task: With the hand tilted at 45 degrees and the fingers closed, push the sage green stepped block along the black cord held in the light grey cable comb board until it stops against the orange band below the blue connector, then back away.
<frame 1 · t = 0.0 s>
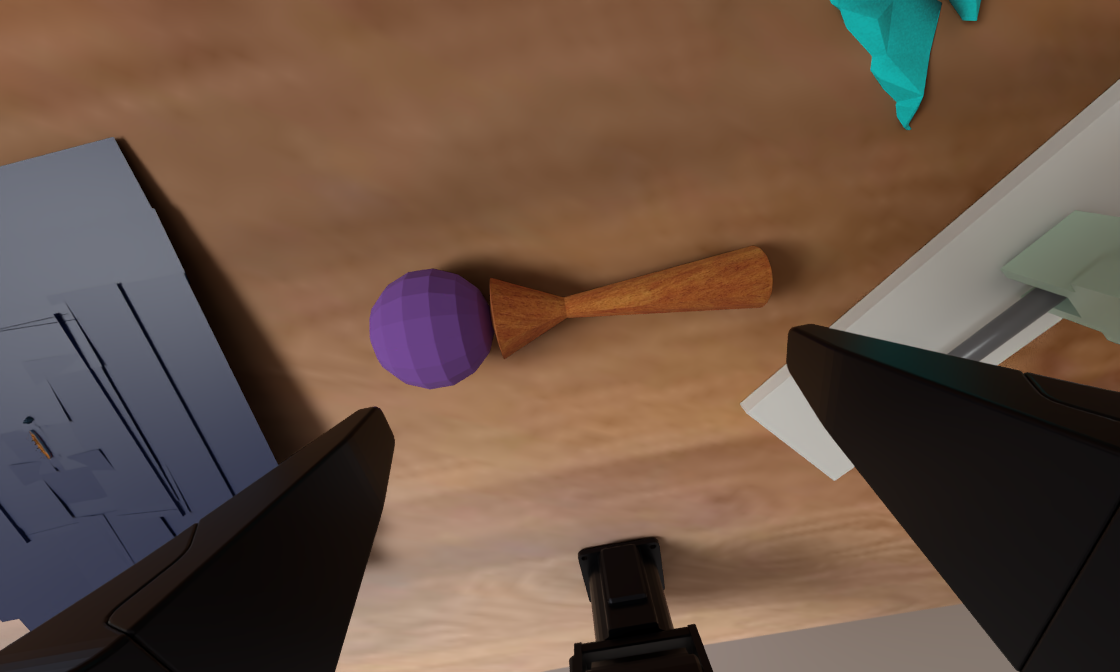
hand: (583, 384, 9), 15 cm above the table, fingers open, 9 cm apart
papers: (99, 426, 27), on the table
comb board: (989, 278, 25), on the table
kendama: (567, 289, 24), on the table
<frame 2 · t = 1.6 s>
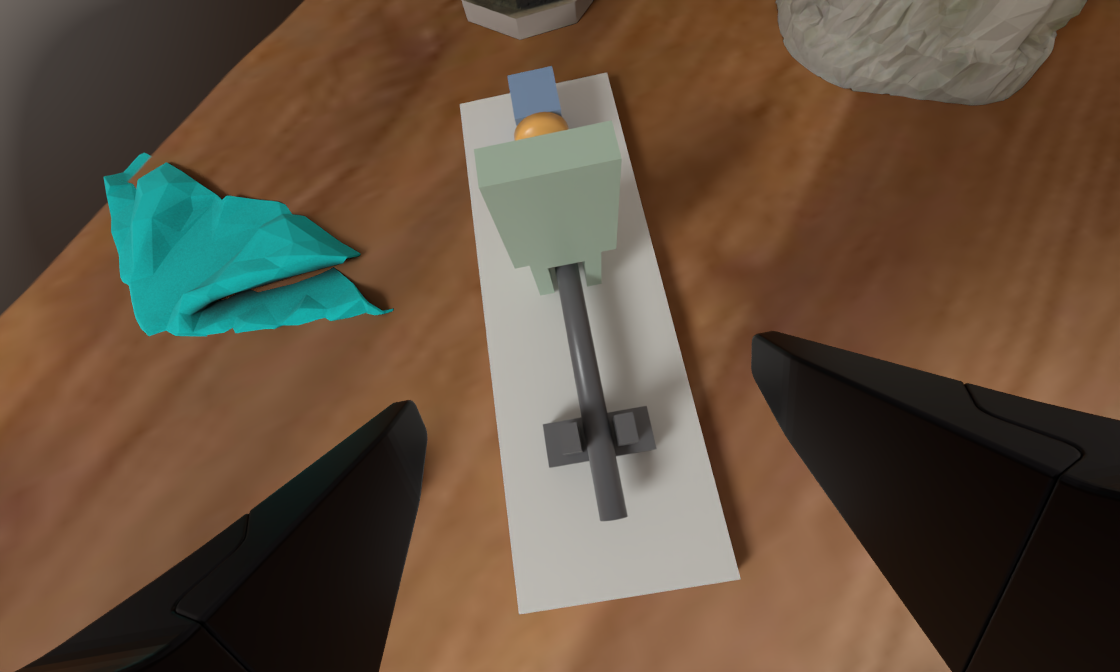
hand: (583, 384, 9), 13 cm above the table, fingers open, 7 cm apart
sage green stepped block: (555, 207, 19), point 6 cm above the table, slide at 0.0 cm
cloth: (231, 257, 29), on the table
ceramic cottage: (897, 13, 29), on the table
comb board: (572, 299, 24), on the table
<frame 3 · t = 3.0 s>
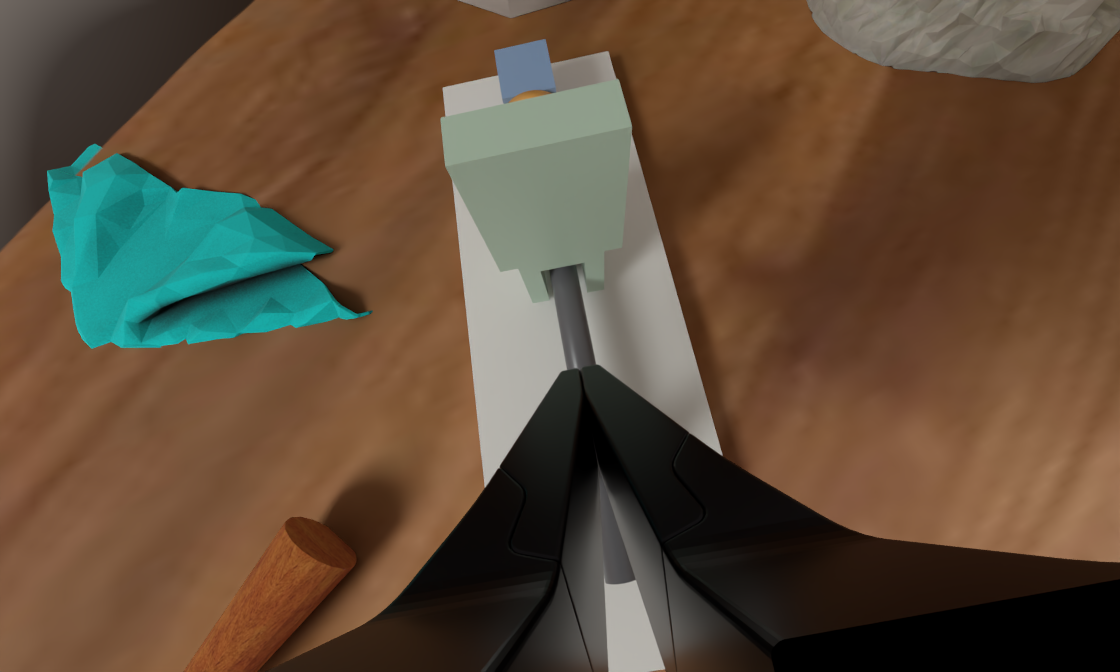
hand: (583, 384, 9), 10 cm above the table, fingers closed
sage green stepped block: (548, 197, 16), point 6 cm above the table, slide at 0.0 cm
cloth: (188, 257, 25), on the table
comb board: (570, 307, 21), on the table
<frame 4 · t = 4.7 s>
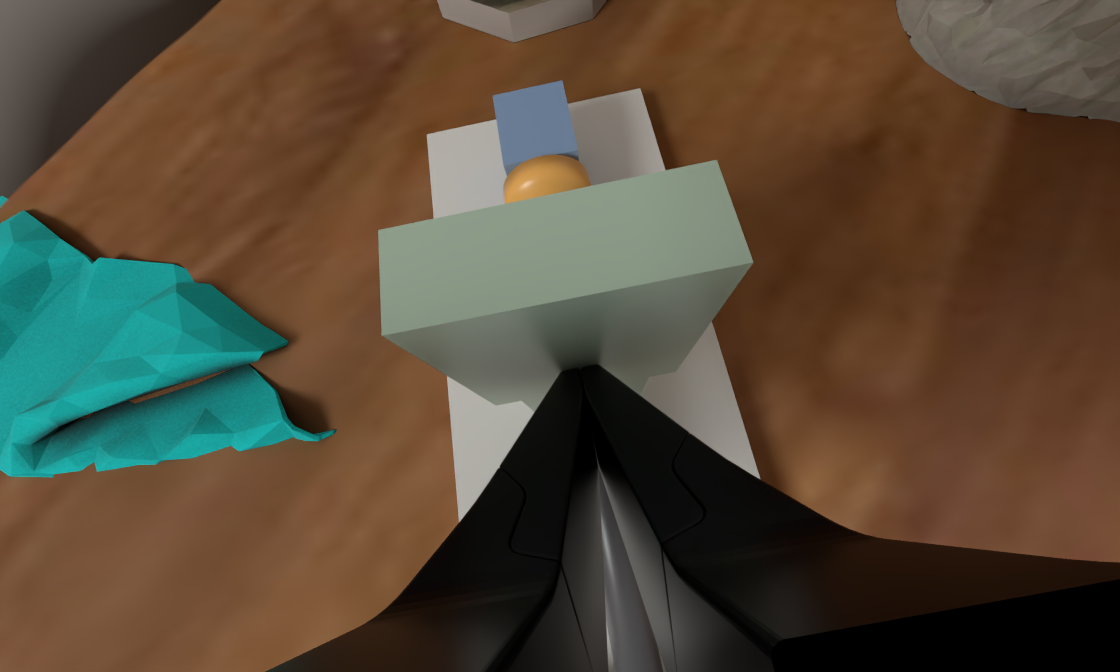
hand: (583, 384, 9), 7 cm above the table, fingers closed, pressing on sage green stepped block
sage green stepped block: (567, 302, 10), point 6 cm above the table, slide at 1.2 cm, touching gripper
cloth: (108, 345, 20), on the table
comb board: (596, 445, 15), on the table
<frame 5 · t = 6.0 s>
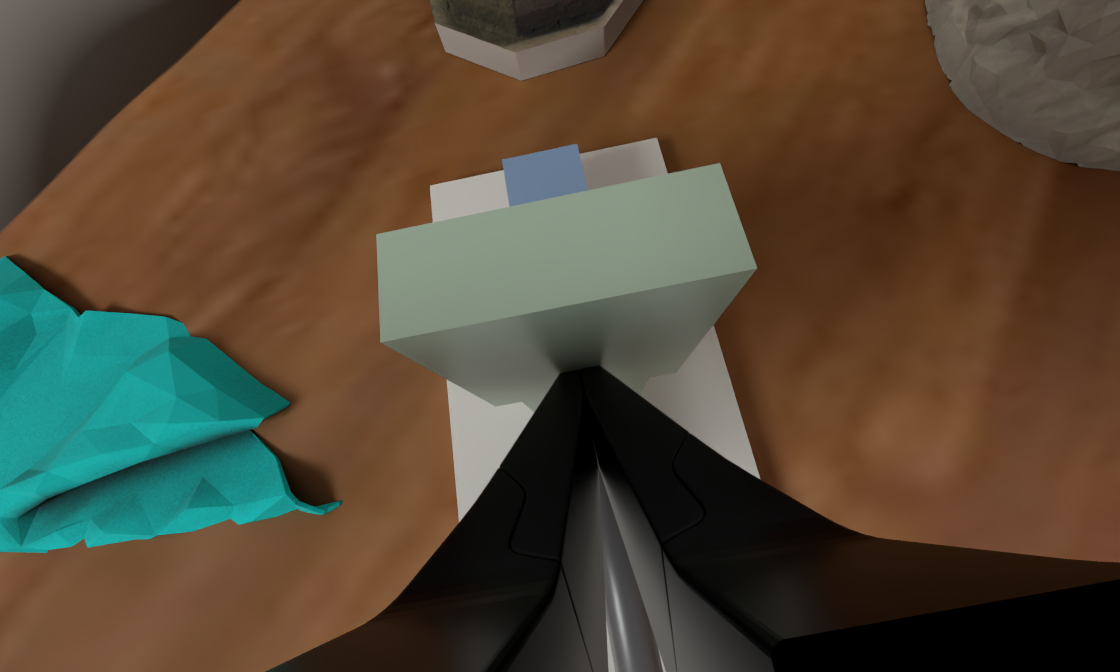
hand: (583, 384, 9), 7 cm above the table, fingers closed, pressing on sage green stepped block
sage green stepped block: (568, 302, 10), point 6 cm above the table, slide at 4.2 cm, touching comb board, gripper
cloth: (98, 402, 19), on the table
comb board: (613, 534, 14), on the table
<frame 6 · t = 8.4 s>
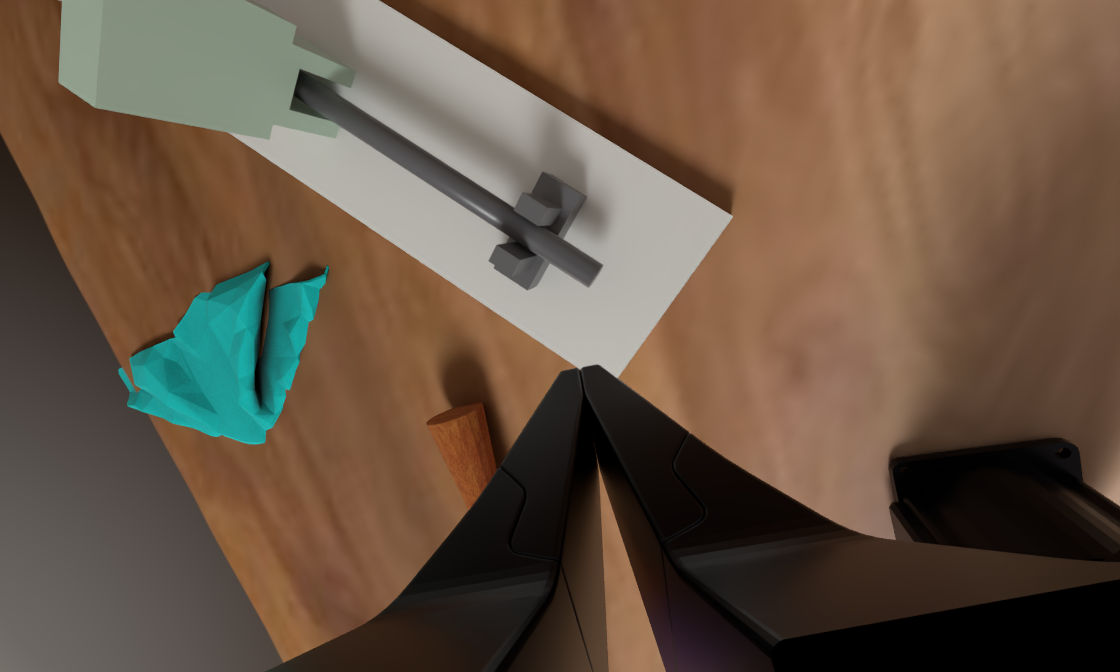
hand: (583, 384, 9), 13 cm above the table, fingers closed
sage green stepped block: (217, 52, 17), point 6 cm above the table, slide at 4.0 cm
cloth: (231, 359, 32), on the table
comb board: (425, 151, 22), on the table
kendama: (523, 536, 28), on the table
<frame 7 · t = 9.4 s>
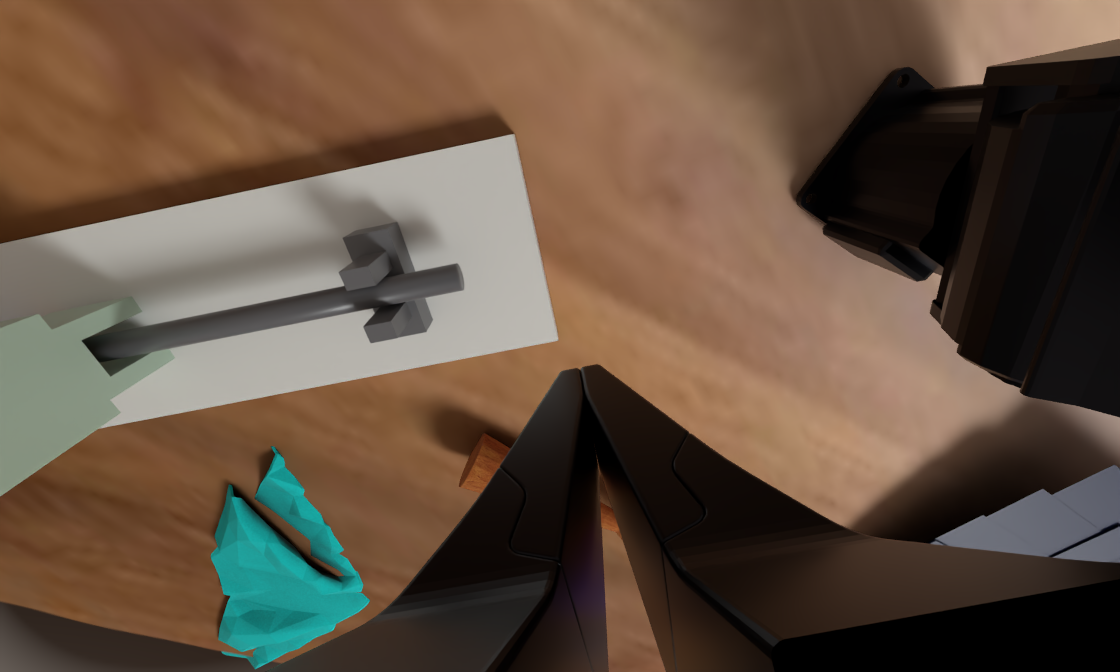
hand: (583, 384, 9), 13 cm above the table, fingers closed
sage green stepped block: (3, 392, 16), point 6 cm above the table, slide at 4.0 cm
cloth: (286, 569, 32), on the table
papers: (939, 585, 36), on the table
comb board: (251, 301, 21), on the table
kendama: (608, 489, 29), on the table
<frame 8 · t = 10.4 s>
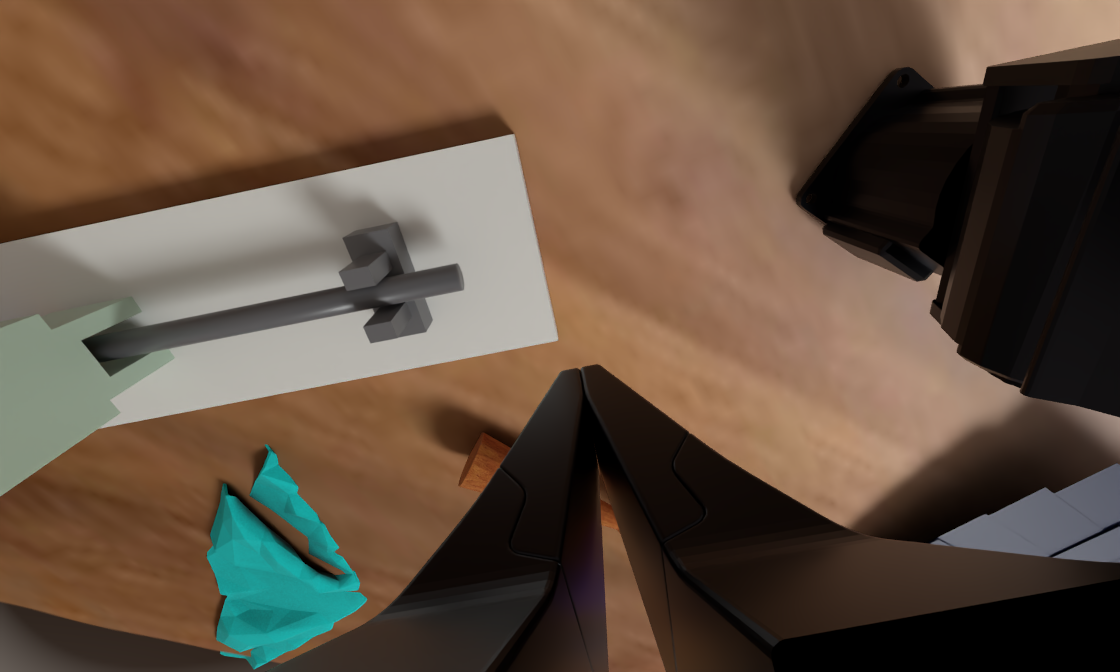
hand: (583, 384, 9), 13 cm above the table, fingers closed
sage green stepped block: (3, 392, 16), point 6 cm above the table, slide at 4.0 cm
cloth: (283, 569, 32), on the table
papers: (940, 585, 36), on the table
comb board: (250, 301, 21), on the table
kendama: (609, 487, 29), on the table
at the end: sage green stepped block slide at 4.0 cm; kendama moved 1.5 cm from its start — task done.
